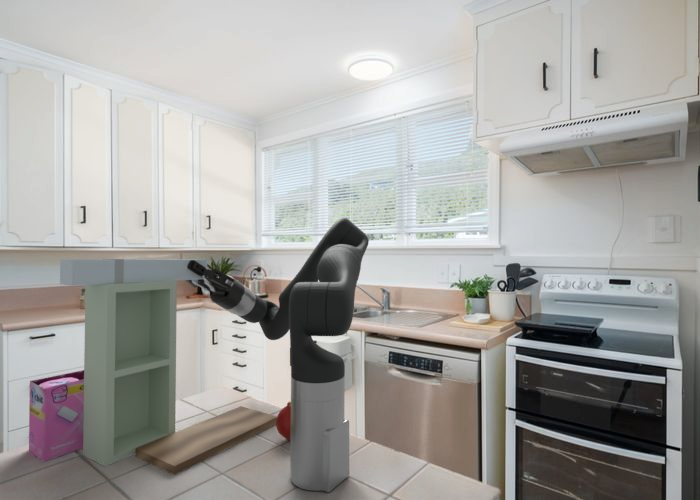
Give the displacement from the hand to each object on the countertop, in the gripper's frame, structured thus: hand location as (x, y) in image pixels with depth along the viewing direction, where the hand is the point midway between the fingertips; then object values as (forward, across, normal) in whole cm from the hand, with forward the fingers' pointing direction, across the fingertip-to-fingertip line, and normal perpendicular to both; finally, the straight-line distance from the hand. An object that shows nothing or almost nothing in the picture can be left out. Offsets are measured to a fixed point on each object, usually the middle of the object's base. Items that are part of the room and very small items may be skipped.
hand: (182, 263), depth 91 cm
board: (-18, +11, +31) cm, 38 cm away
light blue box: (+6, 0, +8) cm, 10 cm away
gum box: (-8, -10, +38) cm, 40 cm away
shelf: (-8, 0, +37) cm, 38 cm away
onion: (-25, +25, +28) cm, 45 cm away
